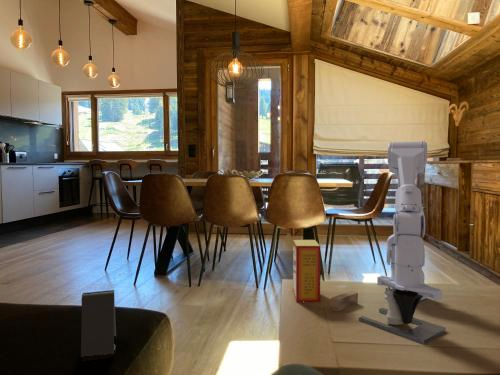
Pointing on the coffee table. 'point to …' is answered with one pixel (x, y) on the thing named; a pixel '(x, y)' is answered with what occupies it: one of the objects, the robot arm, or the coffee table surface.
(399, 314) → the rook chess piece
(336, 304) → the stop block
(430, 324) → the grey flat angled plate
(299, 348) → the coffee table surface
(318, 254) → the baking soda box
